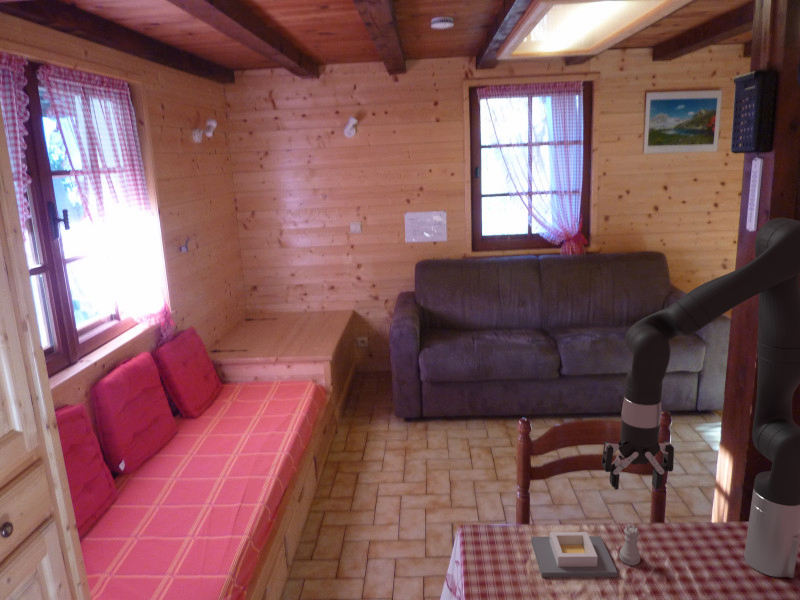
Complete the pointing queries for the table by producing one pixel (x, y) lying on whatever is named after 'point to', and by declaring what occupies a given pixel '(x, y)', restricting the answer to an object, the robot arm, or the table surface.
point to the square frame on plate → (572, 555)
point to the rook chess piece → (630, 546)
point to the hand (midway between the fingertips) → (635, 487)
